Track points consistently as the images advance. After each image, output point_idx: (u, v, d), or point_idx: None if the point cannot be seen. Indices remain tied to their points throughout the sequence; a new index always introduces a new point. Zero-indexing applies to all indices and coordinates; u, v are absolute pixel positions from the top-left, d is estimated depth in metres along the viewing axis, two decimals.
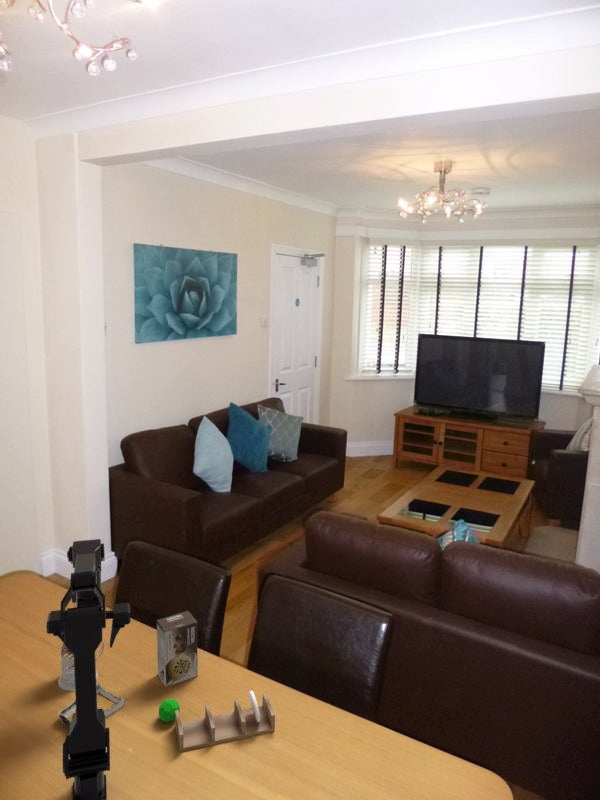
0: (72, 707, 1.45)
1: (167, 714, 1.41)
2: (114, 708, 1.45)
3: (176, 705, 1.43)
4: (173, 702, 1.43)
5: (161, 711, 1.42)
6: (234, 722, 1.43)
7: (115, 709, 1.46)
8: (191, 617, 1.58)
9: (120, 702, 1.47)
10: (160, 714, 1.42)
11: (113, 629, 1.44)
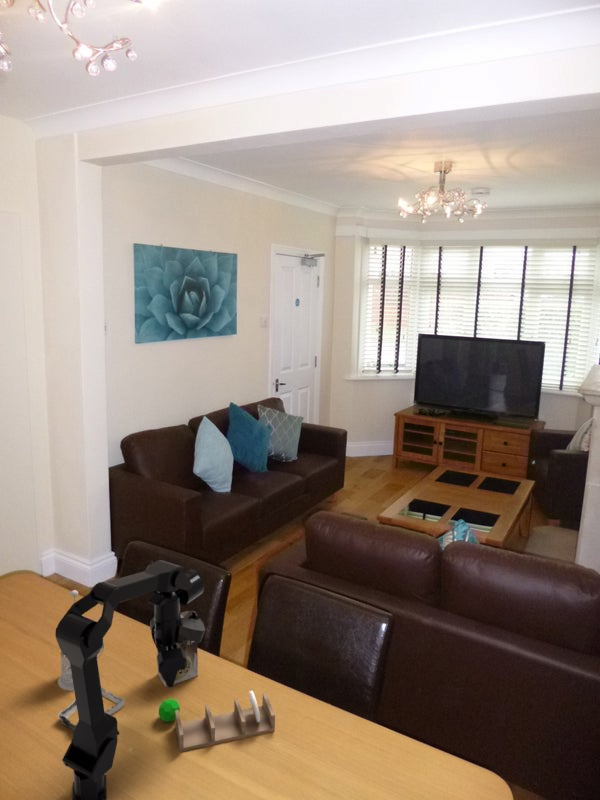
0: (72, 707, 1.45)
1: (167, 714, 1.41)
2: (114, 708, 1.45)
3: (176, 705, 1.43)
4: (173, 702, 1.43)
5: (161, 711, 1.42)
6: (234, 722, 1.43)
7: (115, 709, 1.46)
8: None
9: (120, 702, 1.47)
10: (160, 714, 1.42)
11: None
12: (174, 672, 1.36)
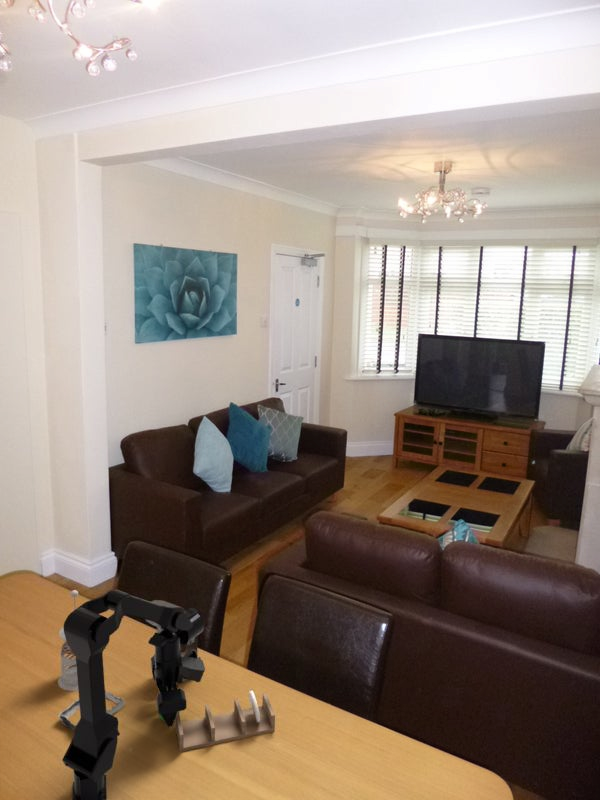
0: (73, 708, 1.45)
1: None
2: (115, 709, 1.45)
3: None
4: None
5: None
6: (234, 722, 1.43)
7: (116, 710, 1.46)
8: None
9: (121, 703, 1.47)
10: (160, 714, 1.42)
11: None
12: (174, 712, 1.37)
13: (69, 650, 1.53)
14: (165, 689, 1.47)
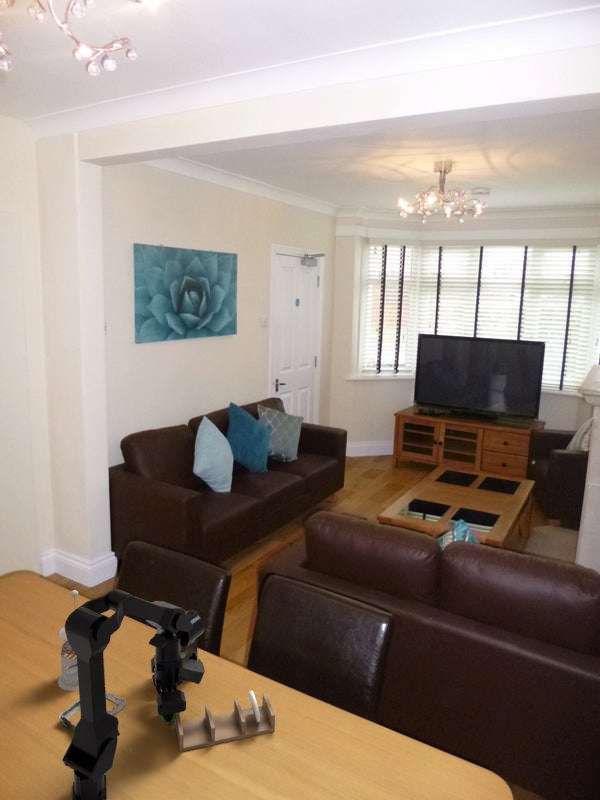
0: (73, 708, 1.45)
1: None
2: (115, 709, 1.45)
3: None
4: None
5: None
6: (234, 722, 1.43)
7: (116, 710, 1.45)
8: None
9: (121, 703, 1.46)
10: None
11: (156, 702, 1.38)
12: None
13: (69, 650, 1.53)
14: None
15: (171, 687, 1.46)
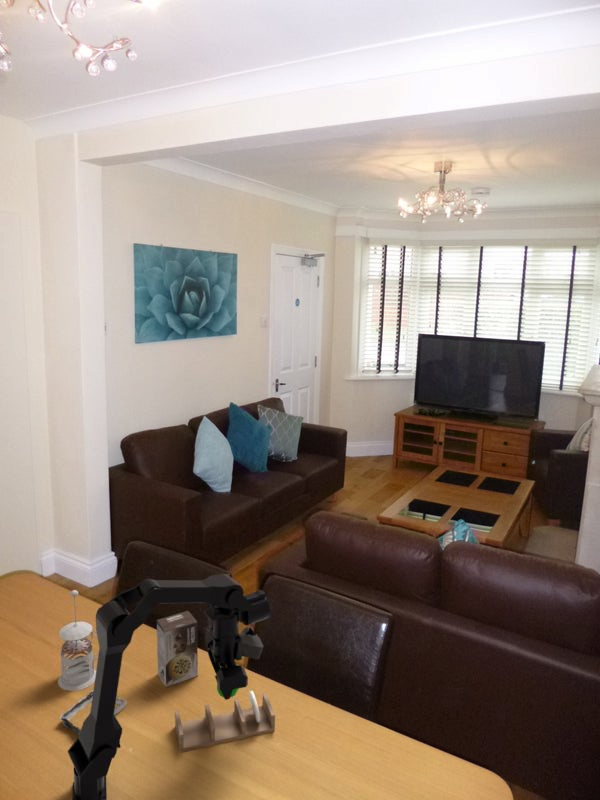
0: (74, 709, 1.44)
1: None
2: (116, 710, 1.45)
3: None
4: None
5: None
6: (234, 722, 1.43)
7: (117, 711, 1.45)
8: (191, 617, 1.58)
9: (122, 703, 1.46)
10: (219, 690, 1.38)
11: None
12: None
13: (69, 650, 1.53)
14: None
15: None
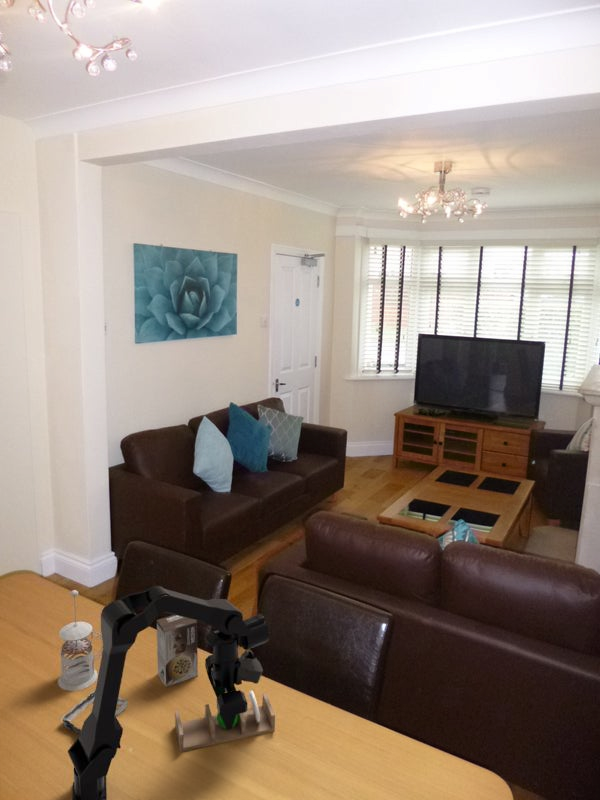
0: (75, 711, 1.44)
1: None
2: (118, 710, 1.45)
3: None
4: None
5: (220, 718, 1.39)
6: None
7: (119, 711, 1.45)
8: None
9: (124, 704, 1.46)
10: (219, 721, 1.39)
11: None
12: (233, 714, 1.35)
13: (69, 650, 1.53)
14: (220, 690, 1.44)
15: None
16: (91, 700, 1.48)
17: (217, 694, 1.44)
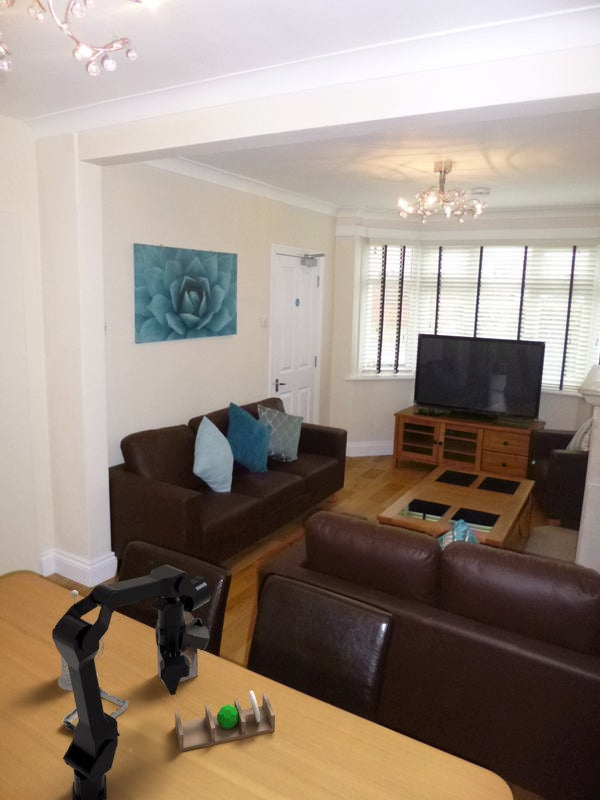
0: (76, 712, 1.44)
1: (227, 720, 1.39)
2: (119, 711, 1.45)
3: (235, 711, 1.40)
4: (232, 708, 1.41)
5: (220, 718, 1.39)
6: None
7: (120, 712, 1.45)
8: (191, 617, 1.58)
9: (124, 704, 1.46)
10: (219, 721, 1.39)
11: None
12: (177, 679, 1.34)
13: None
14: None
15: None
16: None
17: None
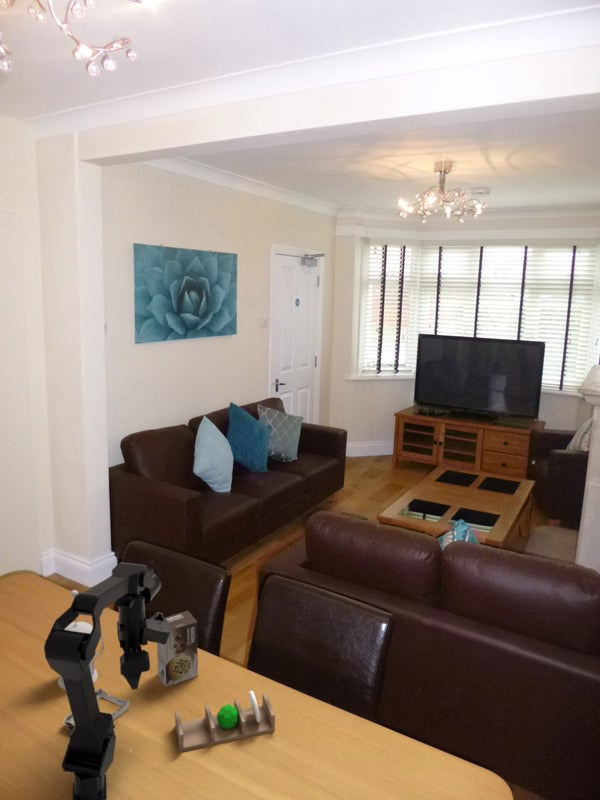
0: None
1: (227, 720, 1.39)
2: (120, 711, 1.44)
3: (235, 711, 1.40)
4: (232, 708, 1.41)
5: (220, 718, 1.39)
6: None
7: (121, 712, 1.45)
8: (191, 617, 1.58)
9: (125, 705, 1.46)
10: (219, 721, 1.39)
11: None
12: (138, 674, 1.34)
13: None
14: None
15: None
16: None
17: None
